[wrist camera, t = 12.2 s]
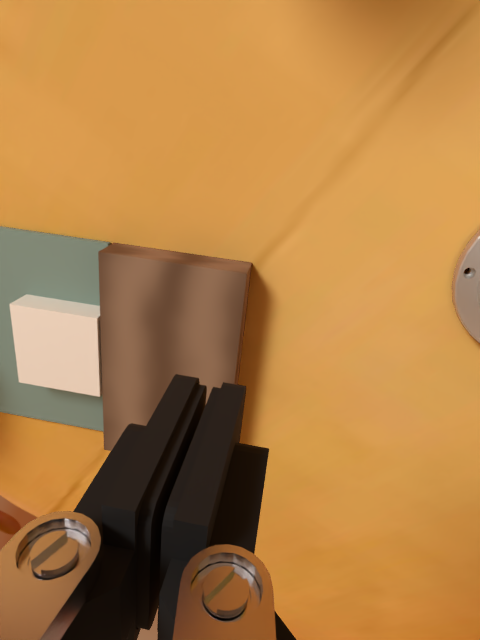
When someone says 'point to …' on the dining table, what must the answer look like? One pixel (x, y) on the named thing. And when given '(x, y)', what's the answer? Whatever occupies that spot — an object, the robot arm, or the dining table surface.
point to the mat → (52, 282)
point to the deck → (165, 327)
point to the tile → (58, 344)
